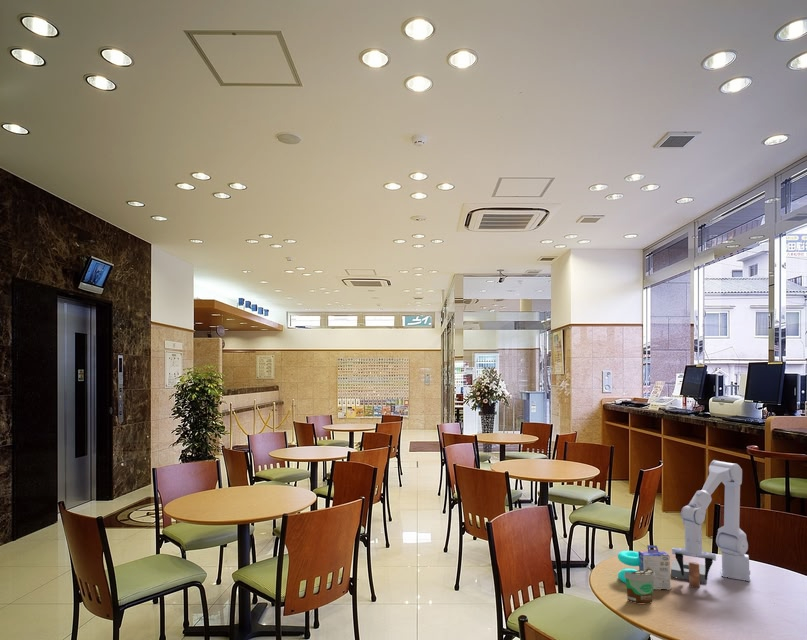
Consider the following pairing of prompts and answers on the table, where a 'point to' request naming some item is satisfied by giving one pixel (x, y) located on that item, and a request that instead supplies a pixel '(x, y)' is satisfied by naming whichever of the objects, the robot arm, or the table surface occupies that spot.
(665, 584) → the ink cartridge box
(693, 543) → the robot arm
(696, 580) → the peg
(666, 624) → the table surface
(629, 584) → the food container
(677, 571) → the socket block
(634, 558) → the donuts
